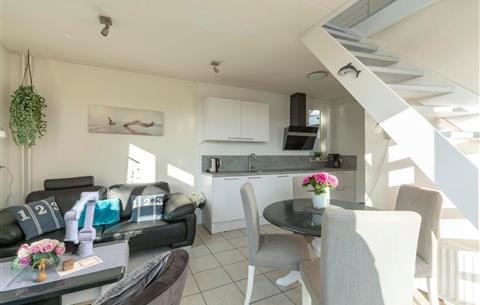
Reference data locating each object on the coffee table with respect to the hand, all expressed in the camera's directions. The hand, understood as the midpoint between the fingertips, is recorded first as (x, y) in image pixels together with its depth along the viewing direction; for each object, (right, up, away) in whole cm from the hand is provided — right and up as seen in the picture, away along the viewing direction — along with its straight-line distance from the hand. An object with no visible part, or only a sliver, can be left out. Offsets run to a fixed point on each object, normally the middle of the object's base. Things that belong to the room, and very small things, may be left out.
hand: (71, 252), depth 130 cm
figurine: (-8, -10, -12) cm, 17 cm away
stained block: (-2, -10, 0) cm, 10 cm away
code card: (+2, -10, +4) cm, 11 cm away
